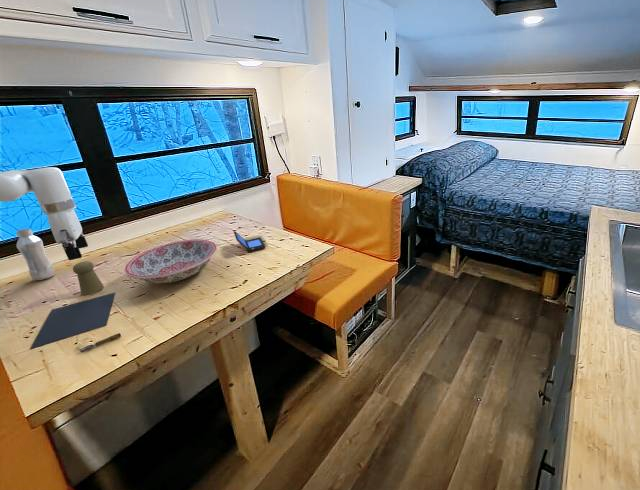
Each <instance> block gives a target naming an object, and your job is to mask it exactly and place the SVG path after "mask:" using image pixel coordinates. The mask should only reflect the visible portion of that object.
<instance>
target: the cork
mask: <svg viewBox="0 0 640 490" xmlns="http://www.w3.org/2000/svg"><path fill="white" fill-rule="evenodd" d="M94 268H95V265H94V263H93V262H92V261H90V260H85V261H84V260H83V261H80V262H78V263H76V264H75V265H73V267H72V271H73V273H75V274H76V276H77V279H78V283H79V289H80V294H81V295H82V296H89V295H93V294H96V293H99V292H100V291H102V290H103V289H104V288H105V286H104V284H103V283H102V281H101V280H100V278H99V276H98V274H97V273H96V271H95V269H94Z"/></svg>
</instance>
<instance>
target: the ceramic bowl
mask: <svg viewBox="0 0 640 490" xmlns="http://www.w3.org/2000/svg"><path fill="white" fill-rule="evenodd" d="M217 249H218V245H217V244H216V243H215V242H213V241H211V240H208V239H199V238H198V239H197V238H196V239H195V238H194V239H185V240H184V239H183V240H178V241H173V242H168V243H165V244H162V245H158V246H156V247H153V248H150V249H148V250H146V251H143V252H141V253H139V254H138V255H136V256H134V257H133V258H132V259H130V260H129V261H128V262H127V263H126V264H125V267H124V273H125V274H126V275H127V276H128V277H130V278H133V279H134V278H135V279H139V280H141V281H144V282H147V283H151V284H169V283H175V282H179V281H182V280H185V279H188V278H190V277H192V276H194V275H196V274H197V273H199V272H200V271H201V270H202V269H204V268H205V266H206V265H207V264H209V261H210V260H211V258H212V257H213V256H214V255H215V254H216V252H217Z"/></svg>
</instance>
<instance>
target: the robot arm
mask: <svg viewBox="0 0 640 490" xmlns="http://www.w3.org/2000/svg"><path fill="white" fill-rule="evenodd" d="M31 192H33V193H34V196H35V198H36V200H37V202H38V204H39V207H40V209H41V210H42V211H41V212H42V214H43V215H46V216H47V222H48V225H49V227H50V230H51V233H52V235H53V238H54V240H55V243H57V244H61V247H62V248H63V250H64V254H65V255H66V257H67V260H68V261H73V260H79V259H82V258H83V255H82V253H81V250H80V249H85V248H88V247H89V244H88V242H87V240H86V237H85V234H84V232H83V227H82V224H81V222H80V220H79V218H78V216H77V213H76V211H75V209H76V208H77V205H76V203H75V201H74V198H73V196H72V194H71V190H70V189H69V186H68V184H67V181H66V179H65V177H64V174H63V172H62V170H61V169H60V168H58V167H53V166H50V167H49V166H48V167H39V168H35V169H15V170H14V169H12V170H4V171H2V172H0V202H13V201H16V200H18V199H20V198H21V197H22V196H24V195H26V194H28V193H31Z"/></svg>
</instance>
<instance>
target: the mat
mask: <svg viewBox="0 0 640 490" xmlns="http://www.w3.org/2000/svg"><path fill="white" fill-rule="evenodd" d="M115 296H116V292H111V293H108V294H103V295H100V296H97V297H93V298H88V299H85V300H82V301H78V302H74V303H71V304H67V305H63V306H60V307H56V308H53V309H51V310H50V311H49V314H48V316H47V317H46V318H45V321H44V322H43V325H42V326H41V328H40V330H39V331H38V333H37V335H36V337H35V338H34V340H33V342H32V343H31V346H30V347H29V350H33V349H35V348H38V347H39V348H40V347H42V346H45V345H49V344H52V343H55V342H58V341H62V340H64V339H68V338H71V337H74V336H78V335H80V334H84V333H86V332H90V331H94V330H97V329H99V328H102V327H106V326H107V324H108V322H109V321H108V320H109V317H110V314H111V310H112V306H113V304H114V299H115Z"/></svg>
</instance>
